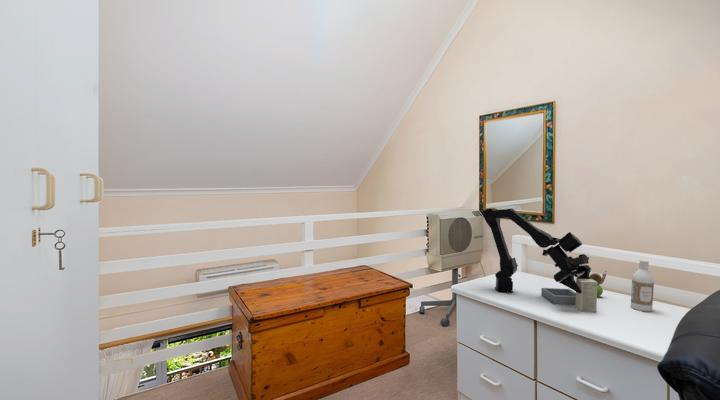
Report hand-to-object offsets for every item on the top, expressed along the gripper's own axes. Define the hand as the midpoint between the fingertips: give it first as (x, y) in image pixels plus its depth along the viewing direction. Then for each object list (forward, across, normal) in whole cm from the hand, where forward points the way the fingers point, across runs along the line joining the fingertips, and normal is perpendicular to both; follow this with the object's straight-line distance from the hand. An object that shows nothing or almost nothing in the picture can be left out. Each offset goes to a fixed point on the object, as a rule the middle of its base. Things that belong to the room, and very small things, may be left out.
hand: (587, 291), depth 143 cm
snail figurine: (0, +23, +11) cm, 25 cm away
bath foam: (+13, +22, -2) cm, 25 cm away
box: (-3, +3, +14) cm, 14 cm away
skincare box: (+5, 0, +6) cm, 8 cm away
